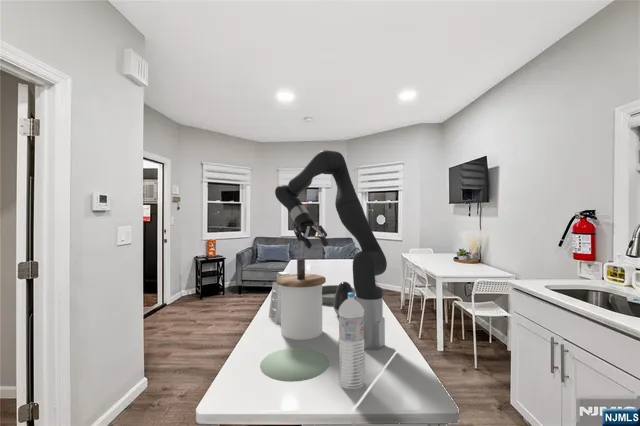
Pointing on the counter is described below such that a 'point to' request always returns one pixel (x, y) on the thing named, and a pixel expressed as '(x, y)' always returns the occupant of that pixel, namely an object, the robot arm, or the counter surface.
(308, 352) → the mat
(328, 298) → the cake pan
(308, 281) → the lid
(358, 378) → the water bottle
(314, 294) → the canister
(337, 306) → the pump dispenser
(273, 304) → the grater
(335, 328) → the counter surface
